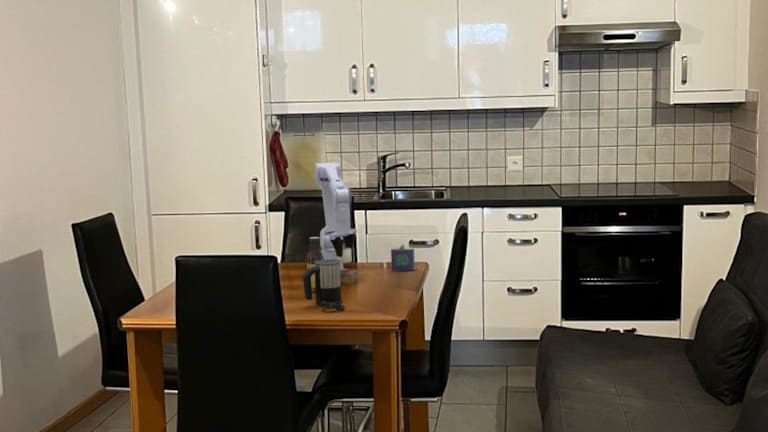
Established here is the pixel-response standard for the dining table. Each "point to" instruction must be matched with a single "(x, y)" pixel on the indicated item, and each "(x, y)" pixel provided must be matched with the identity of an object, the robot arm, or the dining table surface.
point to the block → (348, 276)
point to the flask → (402, 259)
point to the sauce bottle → (314, 257)
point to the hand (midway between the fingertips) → (344, 255)
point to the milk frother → (324, 283)
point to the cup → (346, 255)
